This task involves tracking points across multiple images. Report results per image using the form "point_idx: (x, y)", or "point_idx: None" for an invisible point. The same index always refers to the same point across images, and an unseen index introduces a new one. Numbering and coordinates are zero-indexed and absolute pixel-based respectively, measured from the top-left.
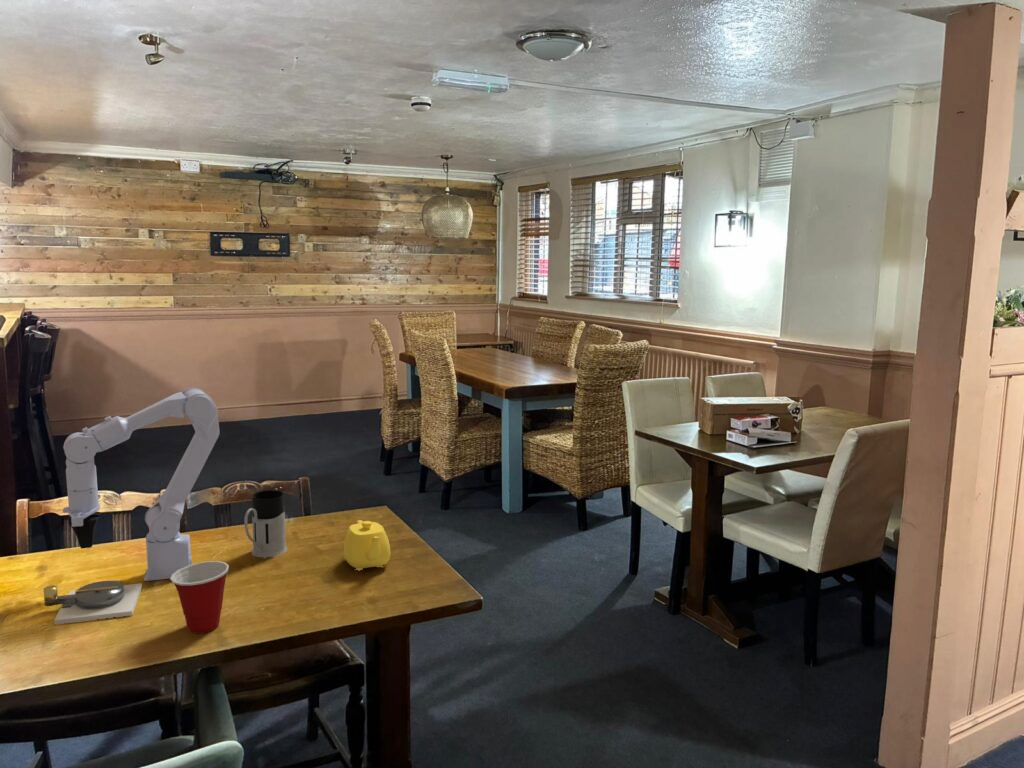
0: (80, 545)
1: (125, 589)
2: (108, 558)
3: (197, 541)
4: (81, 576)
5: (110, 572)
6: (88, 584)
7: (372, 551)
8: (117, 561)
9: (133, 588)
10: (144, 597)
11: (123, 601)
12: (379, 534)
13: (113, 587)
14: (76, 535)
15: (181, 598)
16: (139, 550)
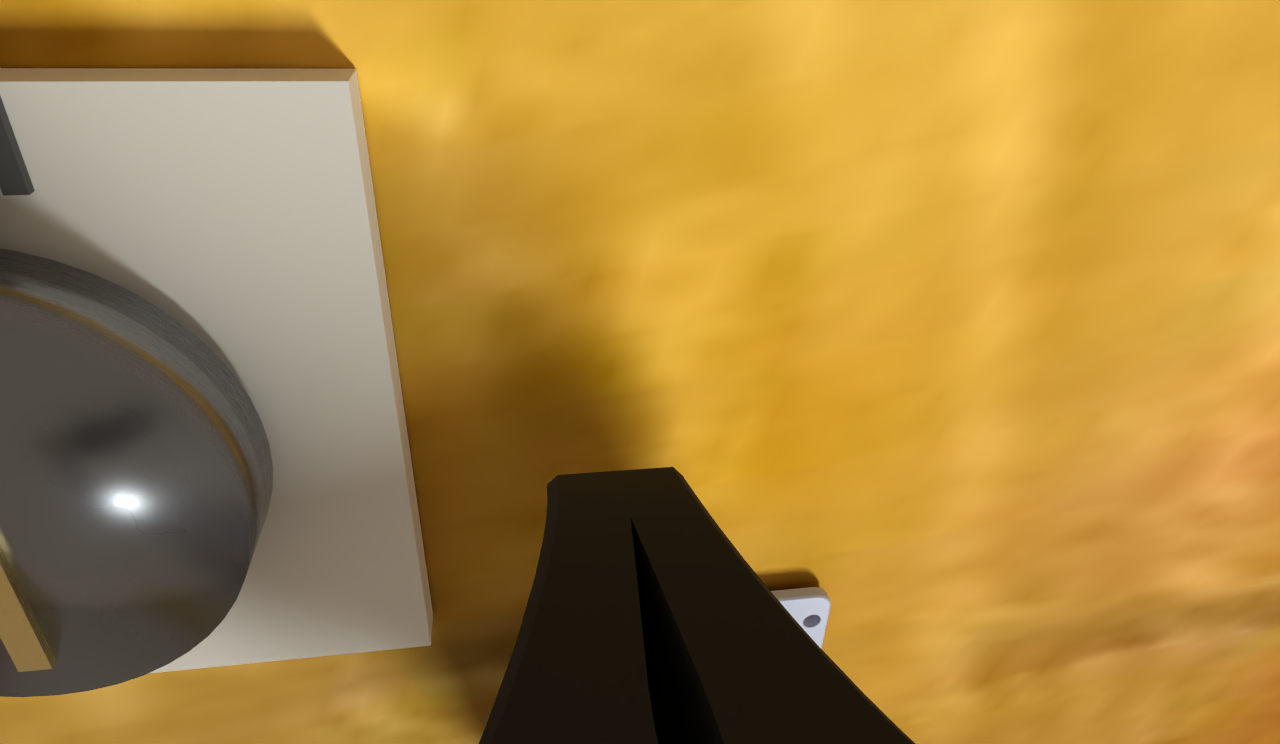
0: (550, 518)
1: (311, 572)
2: (1260, 240)
3: (1183, 727)
4: (902, 70)
5: (879, 329)
6: (142, 385)
7: None
8: (1128, 332)
9: (327, 617)
10: None
11: None
12: None
13: (11, 642)
14: (482, 738)
15: None
16: (1275, 445)
